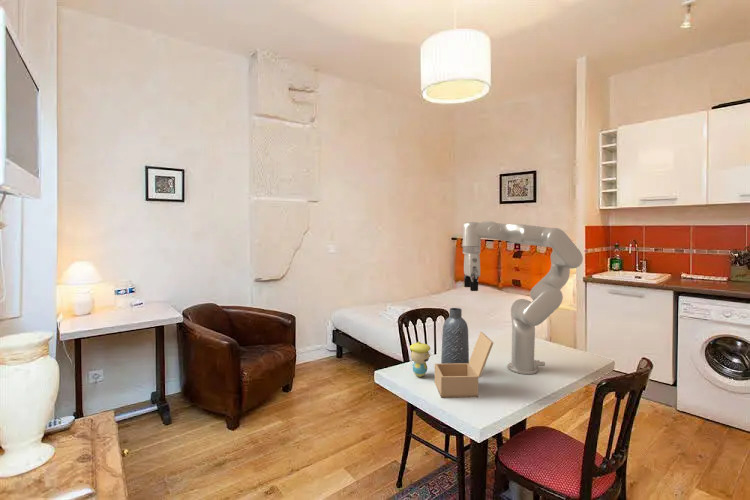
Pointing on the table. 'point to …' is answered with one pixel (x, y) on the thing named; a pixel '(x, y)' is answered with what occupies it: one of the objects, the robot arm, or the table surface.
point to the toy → (420, 358)
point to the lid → (480, 353)
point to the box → (456, 380)
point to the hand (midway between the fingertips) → (470, 288)
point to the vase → (455, 339)
